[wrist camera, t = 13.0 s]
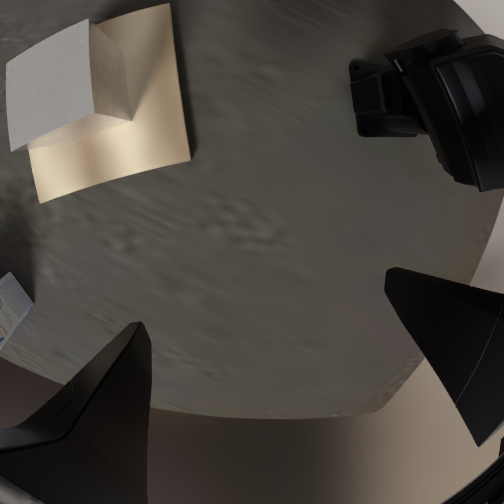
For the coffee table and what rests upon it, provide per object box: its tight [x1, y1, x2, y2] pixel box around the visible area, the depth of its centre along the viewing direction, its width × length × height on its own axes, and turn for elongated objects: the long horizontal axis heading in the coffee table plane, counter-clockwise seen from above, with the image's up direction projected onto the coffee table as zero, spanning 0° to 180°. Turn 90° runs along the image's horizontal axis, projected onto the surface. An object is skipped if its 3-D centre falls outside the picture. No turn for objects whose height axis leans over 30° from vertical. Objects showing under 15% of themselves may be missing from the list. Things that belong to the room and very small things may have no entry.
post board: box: [29, 3, 192, 204], centre depth 14 cm, size 13×13×5 cm
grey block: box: [6, 19, 132, 152], centre depth 12 cm, size 6×6×7 cm
